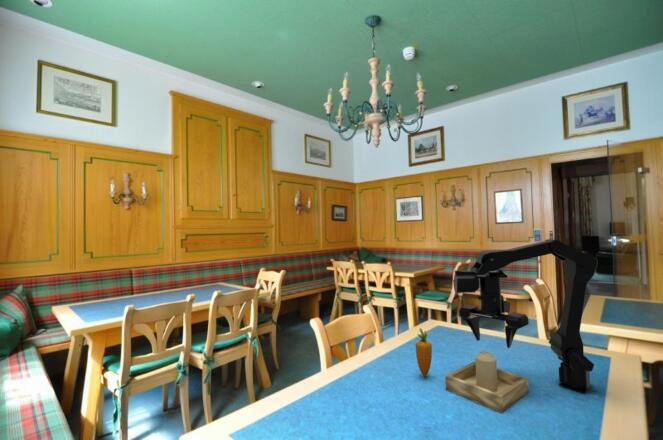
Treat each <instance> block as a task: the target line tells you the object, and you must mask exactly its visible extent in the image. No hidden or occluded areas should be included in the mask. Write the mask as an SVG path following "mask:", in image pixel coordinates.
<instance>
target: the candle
mask: <svg viewBox="0 0 663 440" xmlns="http://www.w3.org/2000/svg"><path fill="white" fill-rule="evenodd" d="M474 360H475V362H476V385H477V386H479V387H482V388H484V389H487V390H490V391H492V392H495V391H497V369H498V368H497V363H498V362H497V358H496V356H494V355H493V354H492V353H490V352H489V351H486V350H480V351H479V352H478V353H477V354H476V355H475V359H474Z"/></svg>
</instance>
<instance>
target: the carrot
mask: <svg viewBox="0 0 663 440" xmlns="http://www.w3.org/2000/svg"><path fill="white" fill-rule="evenodd" d="M419 332H420V333H417V336H418V337H419V338H420V340H418V341H416V342H415V355H416V361H417V366H418V368H419V371H420V373H421V375H422V376H423V377H424V378H426V377H427V376H428V374H429V371H430V368H431V366H432V365H431V363H432V359H433V358H432V356H433V355H432V353H433V351H432V350H433V344H432V343H431V341H429V340H427V337H428V331H426V330H423V328H422V327H421V328H419Z"/></svg>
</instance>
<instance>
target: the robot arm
mask: <svg viewBox="0 0 663 440" xmlns="http://www.w3.org/2000/svg"><path fill="white" fill-rule="evenodd" d="M547 255H551V256H554V258H557V259H558V260H560V261H562V262H563V272H564V274H565V277H566V286H565V293H564V299H563V305H562V311H561V319H560V324H559V327H558V328H557V330H553V329H552V330H550V332H549V333H550V336H549V337H550V339H549V340H548V342H547V343H548V344H549V345H550V349H551V351H552V352H553V353H554V354H555V355H556V356H557V359H558V360H559V361H561V362H560V366H559V367H558V380H559V382H558V385H559V386H560V387H563V388H565V389H568V390H569V389H570V390H572V391H575V392H579V393H581V394H587V393H588V392H589V391H590V390H591V389H592V388H593V385H592V384H591V378H590V377H591V376H590V372H593V369H594V368H595V364H594V363H593V362H592V361H591V360H590V359H589V358H587V356H586V355H585V352H584V342H583V339H582V336H581V327H582V320H583V312H584V306H585V300H586V299H585V298H586V293H587V286H588V283H589V282H590V281H591V279H592V278H594V275H595V274H596V273H595V272H596V271H597V267H598V264H599V262H598V258H597V257H596V255H594V254H593V253H591V252H588V251H582V250H579V249H578V248H575V247H572V246H570V245H567V244H566V243H563V241H561V240H559V239H553V238H552V239H551V238H550V239H549V238H548V239H545V240H543V241H539V242H535V243H531V244H530V243H529V244H526V245H522V246H517V247H513V248H508V249H491V250H490V249H489V250H481V251H480V252H479V253H478V254H477V256H476V261H475V263H474V264H473V265H472V267H471V268H470V269H469V270H458V269H455V270H454V275H453V279H452V283H453V290H454V292H455V294H457V293H459V294H462V293H463V294H464V293H467V294H468V293H471V294H473V293H476V291H479V294H480V295H478V297H477V299H478V300H480V308H479V307H478V306H477V305H472V304H471V305H470V304H467V305H464V306H461V307H460V308H459V309H458V316H459V317H461V318H462V319H463V321H465V322H466V324H467V325H468V327H469V328H470V331H471V332H472V333H473V335H474V338H475V339H476V341H480V340H481V330H480V318H481V317H482V318H487V319H492V320H497V321H503V322H505V324H506V325H505V326H504V329H505V330H504V332H505V342H506V344H505V345H506V347H507V349H510V348H511V347H512V344H513V342H514V338H515V336H516V333H517V331H518V330H519V329H521V328H524V327H525V326H528V325H529V321H530V320H529V317H528V316H527V313H526V314H525V313H519V312H511V302H509V301H507V300H504V299H505V298H504V294H502V290H501V289H502V287H501V279H507V278H508V275H507V274H506V273H504V271H503V270H502V269H503V268H505V267H507V266H509V265H510V264H513V263H515V262H520V261H525V260H529V259H533V258H539V257H542V256H547ZM510 312H511V313H510ZM505 313H508V314H505Z"/></svg>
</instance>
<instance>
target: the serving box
mask: <svg viewBox="0 0 663 440" xmlns="http://www.w3.org/2000/svg"><path fill="white" fill-rule="evenodd" d="M445 390H446V391H448V392H451V393H453V394H455V395H458V396H461V398H462V397H463V398H465V399H467V400H470V401H472V402H474V403H477V404H479V405H481V406H484V407H486V408H489V409H490V410H493V411H495V412H498V413H501V414H502V413H503V412H505V411H506V410H507V409H509V408H510V407H511V406H513V405H514V404H516V403H517V402H518V401H520V400H521V399H523V398H524V397H525V396H527V395H528V394H529V393H530V391H529V378H528V377H524V376H521V375H518V374H515V373H513V372H509V371H506V370H503V369H500V368H497V391H495V392H492V391H490V390H487V389H484V388H482V387H479V386H477V385H476V361H473V362H470V363H469V364H466V365H465V366H462V367H460V368H458V369H456V370H454V371H452V372H450V373H448V374H446V375H445Z"/></svg>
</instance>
